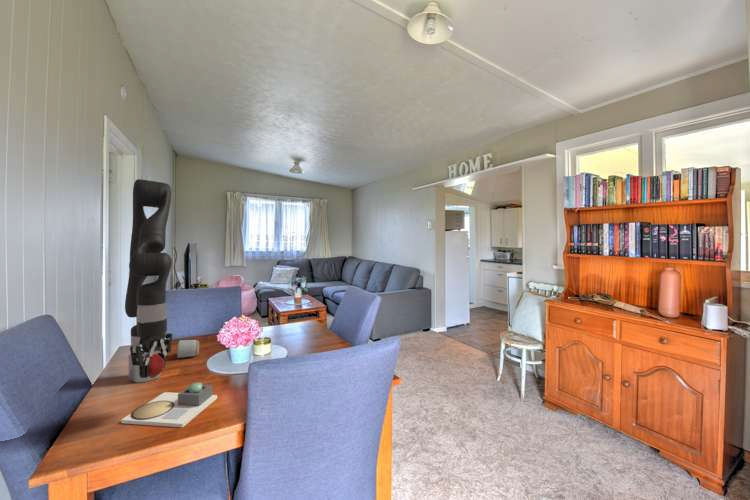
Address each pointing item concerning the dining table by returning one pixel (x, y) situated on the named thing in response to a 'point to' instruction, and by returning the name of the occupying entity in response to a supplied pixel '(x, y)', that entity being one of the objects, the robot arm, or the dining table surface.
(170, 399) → the picture board
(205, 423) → the dining table surface
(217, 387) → the dining table surface
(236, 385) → the dining table surface
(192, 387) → the button
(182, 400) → the button housing
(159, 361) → the onion
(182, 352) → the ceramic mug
